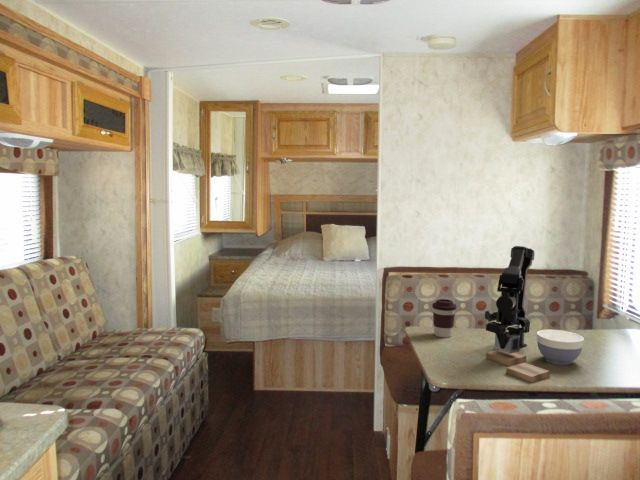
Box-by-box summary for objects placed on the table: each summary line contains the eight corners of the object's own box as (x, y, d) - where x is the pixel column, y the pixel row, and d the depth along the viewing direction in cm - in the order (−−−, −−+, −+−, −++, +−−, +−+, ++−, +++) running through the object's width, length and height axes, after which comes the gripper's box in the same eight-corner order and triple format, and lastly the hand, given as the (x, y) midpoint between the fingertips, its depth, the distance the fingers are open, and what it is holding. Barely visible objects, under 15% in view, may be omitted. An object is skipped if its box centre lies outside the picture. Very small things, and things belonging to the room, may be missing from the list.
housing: (503, 346, 209) (503, 330, 208) (518, 351, 203) (519, 335, 203) (494, 348, 206) (495, 332, 205) (510, 353, 201) (511, 337, 200)
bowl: (558, 351, 216) (560, 327, 214) (592, 365, 201) (594, 339, 200) (526, 356, 210) (527, 331, 209) (557, 370, 195) (559, 344, 194)
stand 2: (523, 367, 197) (524, 362, 197) (549, 376, 189) (549, 371, 188) (506, 373, 191) (506, 367, 191) (531, 382, 183) (531, 376, 183)
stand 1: (503, 353, 212) (503, 348, 212) (526, 361, 204) (526, 355, 204) (486, 358, 207) (486, 352, 206) (508, 366, 198) (509, 360, 198)
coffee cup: (455, 339, 229) (457, 304, 227) (431, 337, 231) (432, 302, 229) (454, 332, 239) (456, 298, 237) (431, 331, 241) (432, 297, 239)
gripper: (506, 298, 215) (504, 337, 217) (474, 304, 204) (472, 345, 206) (532, 304, 205) (529, 345, 207) (500, 311, 195) (497, 354, 197)
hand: (506, 347), depth 205 cm, fingers closed on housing, 5 cm apart
